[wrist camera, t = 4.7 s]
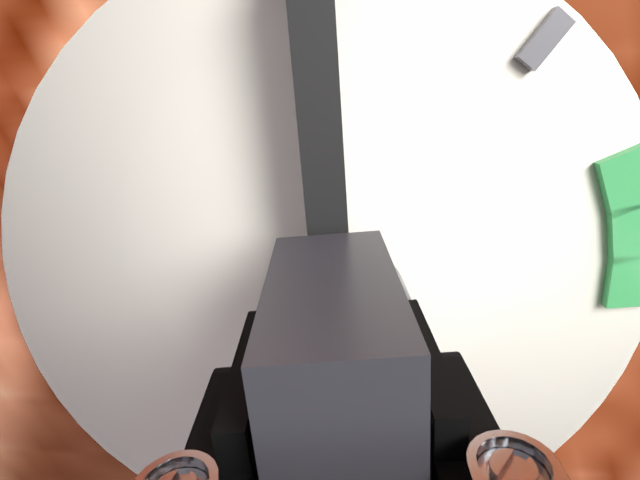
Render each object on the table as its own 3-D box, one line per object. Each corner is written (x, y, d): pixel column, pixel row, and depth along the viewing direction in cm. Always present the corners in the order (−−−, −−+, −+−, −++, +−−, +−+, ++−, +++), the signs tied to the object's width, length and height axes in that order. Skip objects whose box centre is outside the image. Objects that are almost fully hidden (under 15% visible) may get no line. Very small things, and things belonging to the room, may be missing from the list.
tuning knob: (409, 386, 14) (487, 652, 8) (271, 395, 14) (231, 665, 8) (403, -75, 10) (568, -383, 3) (209, -58, 10) (0, -323, 3)
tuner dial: (637, 443, 18) (671, 482, 16) (163, 535, 19) (148, 579, 18) (623, -167, 11) (678, -212, 9) (-90, 50, 13) (-153, 45, 11)
